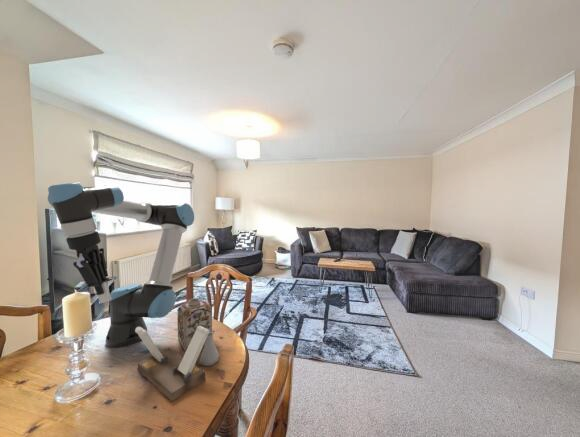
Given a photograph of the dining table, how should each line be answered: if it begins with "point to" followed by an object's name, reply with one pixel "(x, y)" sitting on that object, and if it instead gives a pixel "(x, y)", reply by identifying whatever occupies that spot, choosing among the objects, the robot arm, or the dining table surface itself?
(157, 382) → the switch panel
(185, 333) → the decorative jar
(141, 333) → the switch
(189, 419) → the dining table surface
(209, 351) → the flask
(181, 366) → the switch
